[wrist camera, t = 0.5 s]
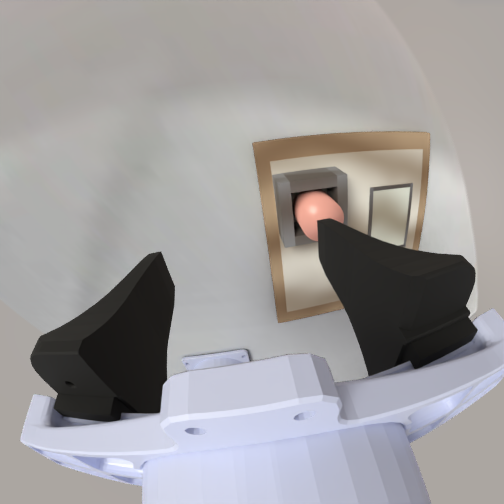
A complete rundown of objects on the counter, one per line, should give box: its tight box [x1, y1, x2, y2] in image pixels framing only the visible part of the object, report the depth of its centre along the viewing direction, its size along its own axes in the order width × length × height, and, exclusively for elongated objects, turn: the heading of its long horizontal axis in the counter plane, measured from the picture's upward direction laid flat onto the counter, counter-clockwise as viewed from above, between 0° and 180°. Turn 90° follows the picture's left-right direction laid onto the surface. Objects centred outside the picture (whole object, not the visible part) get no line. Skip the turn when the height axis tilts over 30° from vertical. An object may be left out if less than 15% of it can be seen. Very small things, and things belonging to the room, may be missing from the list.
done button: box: [292, 189, 344, 241], centre depth 19 cm, size 3×3×3 cm
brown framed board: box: [253, 131, 430, 323], centre depth 22 cm, size 18×16×3 cm
